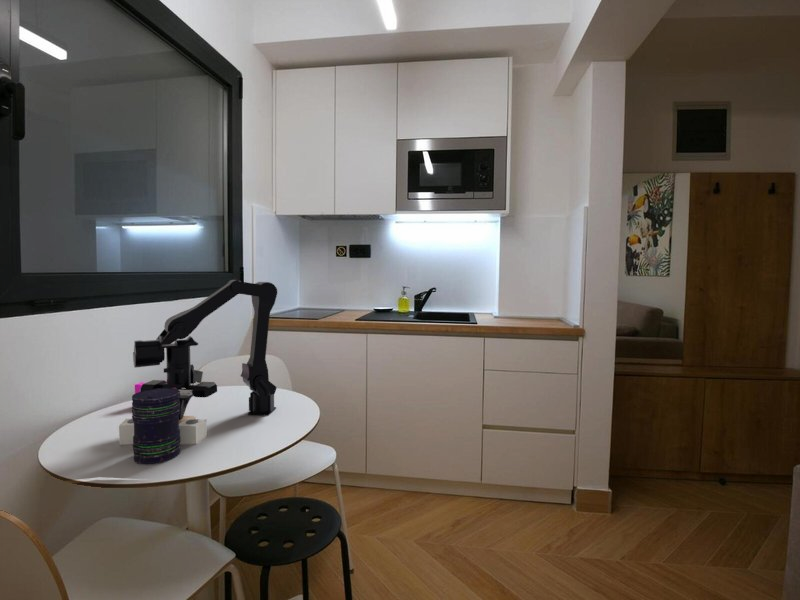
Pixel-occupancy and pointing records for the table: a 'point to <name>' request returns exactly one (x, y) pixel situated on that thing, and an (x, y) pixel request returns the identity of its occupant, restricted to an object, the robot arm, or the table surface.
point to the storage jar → (156, 425)
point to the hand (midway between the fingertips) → (179, 419)
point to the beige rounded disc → (186, 418)
